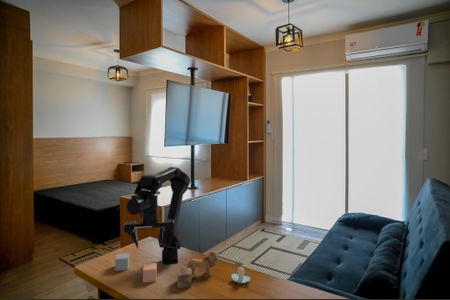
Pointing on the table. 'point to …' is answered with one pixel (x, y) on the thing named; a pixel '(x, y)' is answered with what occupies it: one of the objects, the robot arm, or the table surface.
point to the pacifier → (240, 276)
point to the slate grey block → (122, 262)
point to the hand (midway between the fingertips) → (149, 246)
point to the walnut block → (184, 277)
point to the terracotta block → (150, 272)
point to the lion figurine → (204, 263)
